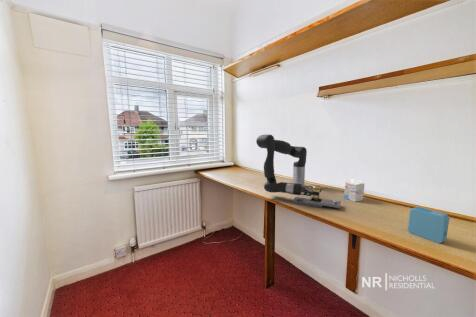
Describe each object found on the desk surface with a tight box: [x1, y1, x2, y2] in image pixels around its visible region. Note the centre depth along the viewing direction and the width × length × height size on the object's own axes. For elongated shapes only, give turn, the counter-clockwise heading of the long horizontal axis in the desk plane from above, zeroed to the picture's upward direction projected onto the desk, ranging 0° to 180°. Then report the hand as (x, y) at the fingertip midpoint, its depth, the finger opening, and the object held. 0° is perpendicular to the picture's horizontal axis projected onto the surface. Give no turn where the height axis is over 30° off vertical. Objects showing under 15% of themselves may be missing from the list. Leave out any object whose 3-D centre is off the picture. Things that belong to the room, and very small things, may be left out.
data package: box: [407, 206, 450, 244], centre depth 91 cm, size 12×4×12 cm, turn 30°
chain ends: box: [291, 196, 342, 209], centre depth 131 cm, size 28×9×4 cm, turn 61°
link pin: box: [312, 184, 322, 202], centre depth 130 cm, size 5×5×12 cm
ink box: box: [343, 178, 365, 202], centre depth 139 cm, size 9×8×13 cm
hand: (320, 192), depth 129 cm, fingers open, 7 cm apart
